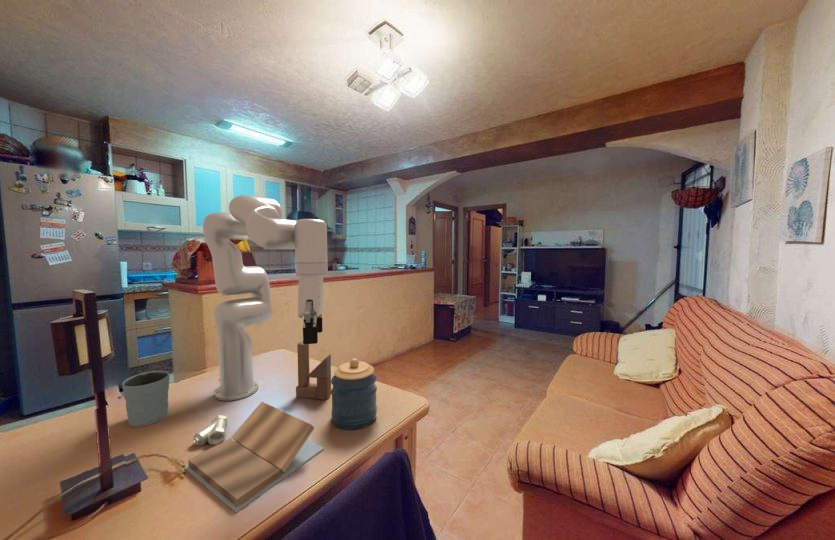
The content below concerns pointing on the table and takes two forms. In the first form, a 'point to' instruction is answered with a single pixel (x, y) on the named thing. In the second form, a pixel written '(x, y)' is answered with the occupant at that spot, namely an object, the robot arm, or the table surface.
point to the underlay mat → (302, 457)
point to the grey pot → (146, 397)
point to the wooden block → (312, 376)
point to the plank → (273, 435)
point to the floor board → (234, 471)
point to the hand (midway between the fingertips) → (313, 337)
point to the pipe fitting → (212, 432)
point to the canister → (354, 395)
